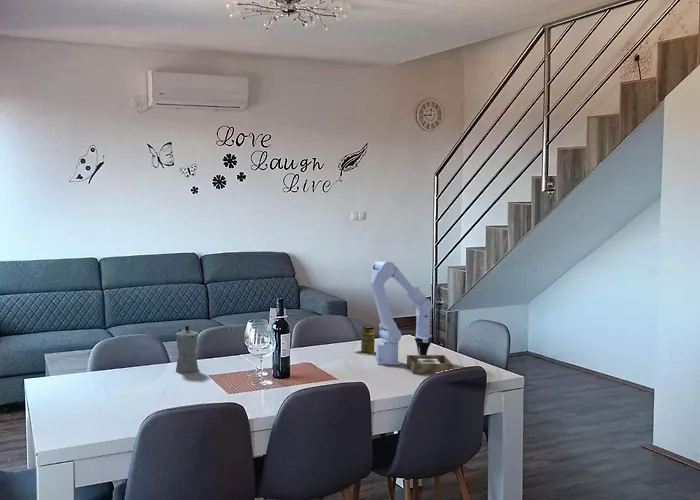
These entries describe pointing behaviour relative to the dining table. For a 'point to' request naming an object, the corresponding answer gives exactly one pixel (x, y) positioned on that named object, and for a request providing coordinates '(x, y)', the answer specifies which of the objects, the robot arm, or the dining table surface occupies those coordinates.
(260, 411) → the dining table surface
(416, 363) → the walled box
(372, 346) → the condiment
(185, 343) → the coffeepot
